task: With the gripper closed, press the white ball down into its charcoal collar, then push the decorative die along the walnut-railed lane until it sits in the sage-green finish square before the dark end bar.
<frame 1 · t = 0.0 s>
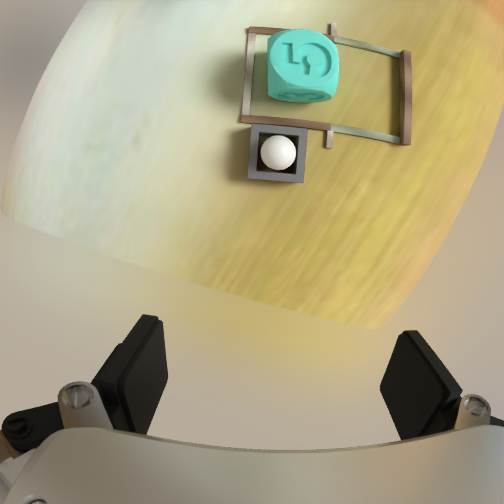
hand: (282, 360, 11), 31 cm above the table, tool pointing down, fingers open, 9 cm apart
white ball: (278, 152, 34), point 4 cm above the table, slide at 0.0 cm
decorative dice: (296, 76, 35), on the table
collar: (276, 153, 38), on the table
lane: (328, 80, 34), on the table
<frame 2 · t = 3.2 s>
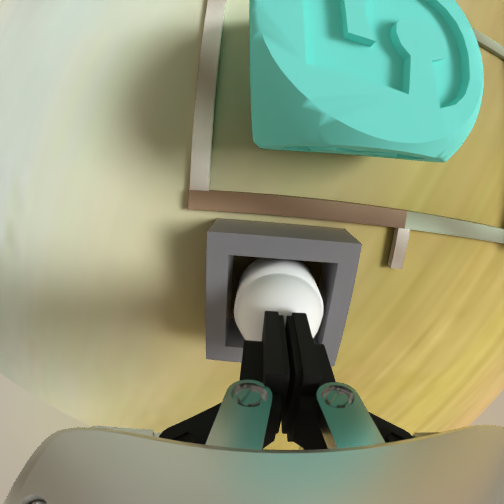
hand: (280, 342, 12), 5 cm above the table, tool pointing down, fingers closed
white ball: (278, 310, 14), point 3 cm above the table, slide at 1.0 cm, touching gripper
decorative dice: (329, 83, 14), on the table
collar: (276, 283, 17), on the table
lane: (405, 99, 13), on the table
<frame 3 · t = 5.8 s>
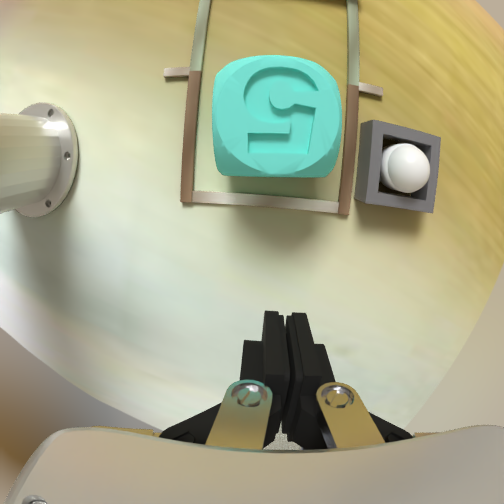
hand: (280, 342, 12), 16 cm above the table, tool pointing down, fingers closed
white ball: (406, 168, 21), point 3 cm above the table, slide at 1.1 cm
decorative dice: (271, 127, 24), on the table
collar: (391, 166, 24), on the table
lane: (274, 79, 22), on the table
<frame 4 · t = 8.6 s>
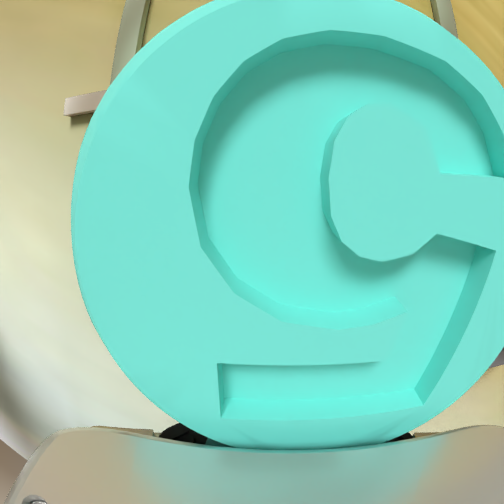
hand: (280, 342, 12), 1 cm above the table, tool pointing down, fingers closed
decorative dice: (294, 199, 11), on the table, touching gripper
lane: (297, 109, 10), on the table
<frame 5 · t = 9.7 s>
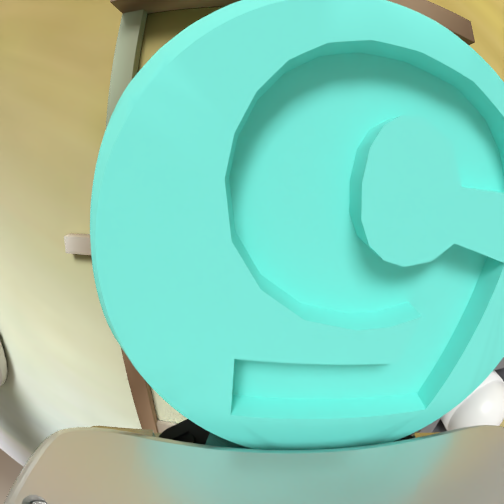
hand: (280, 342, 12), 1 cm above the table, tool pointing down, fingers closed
white ball: (475, 405, 11), point 3 cm above the table, slide at 1.1 cm
decorative dice: (302, 201, 11), on the table, touching gripper
collar: (453, 375, 14), on the table
lane: (285, 267, 12), on the table
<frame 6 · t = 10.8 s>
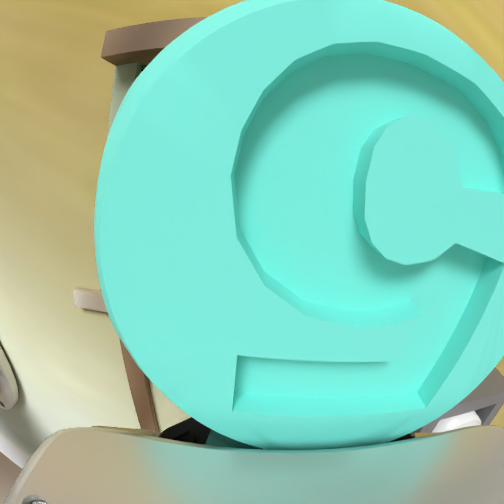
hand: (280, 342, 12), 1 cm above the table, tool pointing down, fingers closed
white ball: (452, 439, 12), point 3 cm above the table, slide at 1.1 cm
decorative dice: (303, 200, 11), on the table
collar: (435, 408, 15), on the table
lane: (279, 328, 13), on the table
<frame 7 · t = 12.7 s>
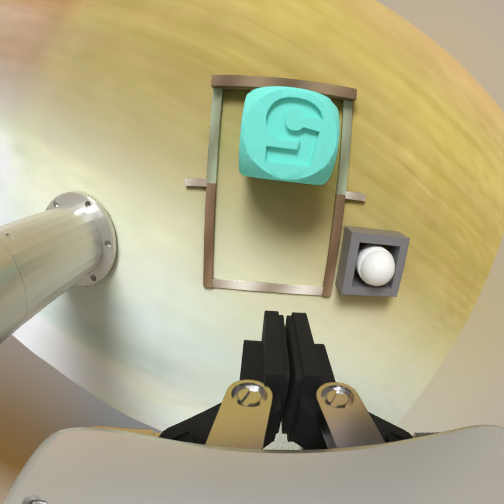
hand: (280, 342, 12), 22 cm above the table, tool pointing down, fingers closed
white ball: (376, 266, 30), point 3 cm above the table, slide at 1.1 cm
decorative dice: (284, 140, 30), on the table
collar: (367, 257, 33), on the table
lane: (276, 191, 31), on the table
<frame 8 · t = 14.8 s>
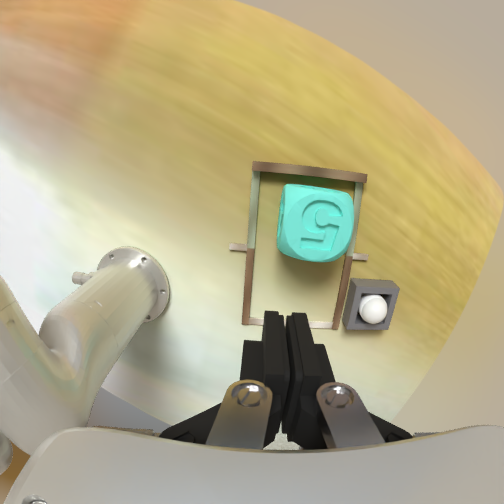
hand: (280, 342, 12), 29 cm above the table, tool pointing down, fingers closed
white ball: (373, 309, 40), point 3 cm above the table, slide at 1.1 cm
decorative dice: (308, 214, 40), on the table
collar: (367, 300, 43), on the table
lane: (300, 254, 41), on the table
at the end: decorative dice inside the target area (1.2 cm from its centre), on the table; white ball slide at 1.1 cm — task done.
